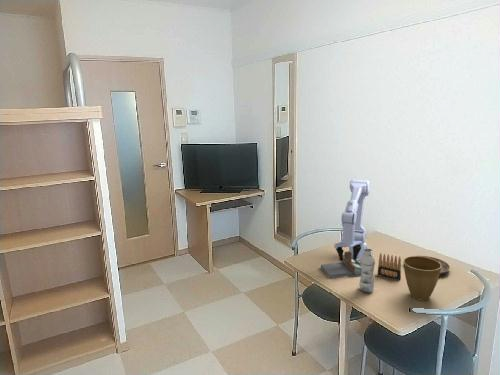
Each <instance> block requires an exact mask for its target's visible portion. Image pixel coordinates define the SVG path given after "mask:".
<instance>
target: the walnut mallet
mask: <svg viewBox="0 0 500 375" xmlns="http://www.w3.org/2000/svg"><path fill="white" fill-rule="evenodd" d="M341 262H343V263H344V264H345V265H346V266H347V267H348V268H349V269H350V270H351V271H352V272H354V270H355V266H354V265H353V264H352V263H351V262H352V253H350V252H349V250H348V251H344V252H343V261H341Z"/></svg>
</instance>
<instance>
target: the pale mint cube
mask: <svg viewBox="0 0 500 375" xmlns="http://www.w3.org/2000/svg"><path fill="white" fill-rule="evenodd" d="M352 264H353V265H354V266H355V270H361V267H360V266H359V265H357V264H354V263H352Z"/></svg>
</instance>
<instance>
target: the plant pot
mask: <svg viewBox="0 0 500 375" xmlns="http://www.w3.org/2000/svg"><path fill="white" fill-rule="evenodd" d="M422 256H423V255H411V256H407V257H405V258H403V270H404V275H405V281H406V285H407V288H408V291H409V294H410V296H411V298H413V299H415V300H417V301H427V300H429V299H430V297H431V296H432V294H433V293H434V290H435V289H436V286H437V283H438V281H439V278H440V276H441V275H440V271H441V267H442V265H441V264H440V263H439V262H438V261H436V260H434V259H431V258H427V257H422Z"/></svg>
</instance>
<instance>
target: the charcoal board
mask: <svg viewBox="0 0 500 375" xmlns="http://www.w3.org/2000/svg"><path fill="white" fill-rule="evenodd" d="M320 269H321V271H323V273H324V274H325V275H326V276H327V277H328V278H329V279H336V278H337V279H339V278H344V277H351V276H354V275H353V272H352V271H351V270H350V269H349V268H348V267H347V266H346V265H345V264H344V263H343V262H342V261H338V262H331V263H323V264H320Z"/></svg>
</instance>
